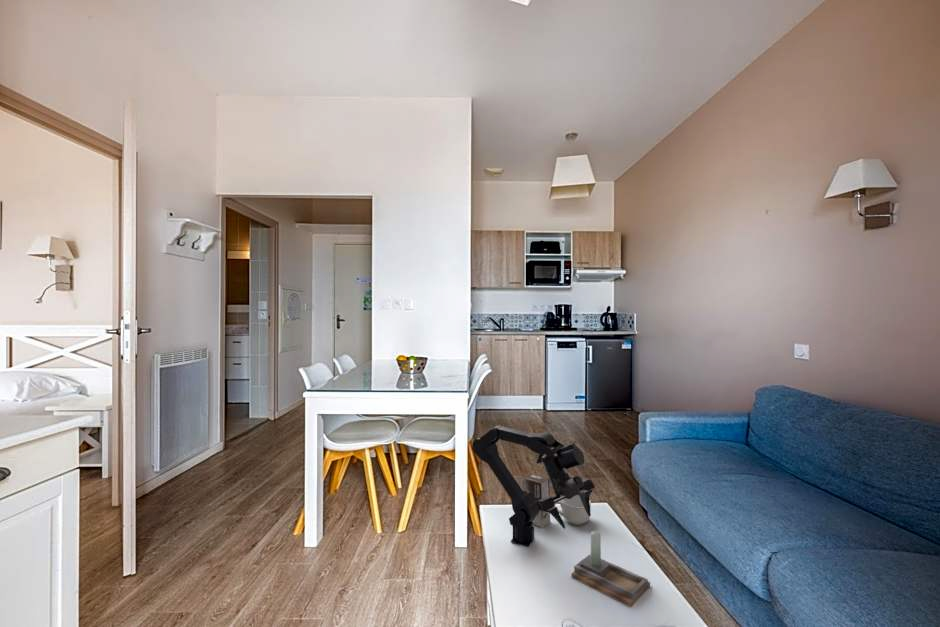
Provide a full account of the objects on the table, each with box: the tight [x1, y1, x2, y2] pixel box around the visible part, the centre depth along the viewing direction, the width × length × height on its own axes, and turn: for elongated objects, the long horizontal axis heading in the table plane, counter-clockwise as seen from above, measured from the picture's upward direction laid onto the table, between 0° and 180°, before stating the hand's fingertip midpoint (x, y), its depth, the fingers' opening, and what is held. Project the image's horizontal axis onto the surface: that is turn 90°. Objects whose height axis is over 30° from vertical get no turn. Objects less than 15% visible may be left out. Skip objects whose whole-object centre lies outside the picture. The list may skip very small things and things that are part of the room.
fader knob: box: [581, 530, 611, 577], centre depth 127 cm, size 6×6×11 cm
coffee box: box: [520, 472, 551, 528], centre depth 160 cm, size 9×6×16 cm
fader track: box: [571, 553, 651, 608], centre depth 123 cm, size 18×12×3 cm, turn 44°
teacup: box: [554, 495, 592, 526], centre depth 160 cm, size 14×11×8 cm
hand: (577, 522), depth 134 cm, fingers open, 9 cm apart
